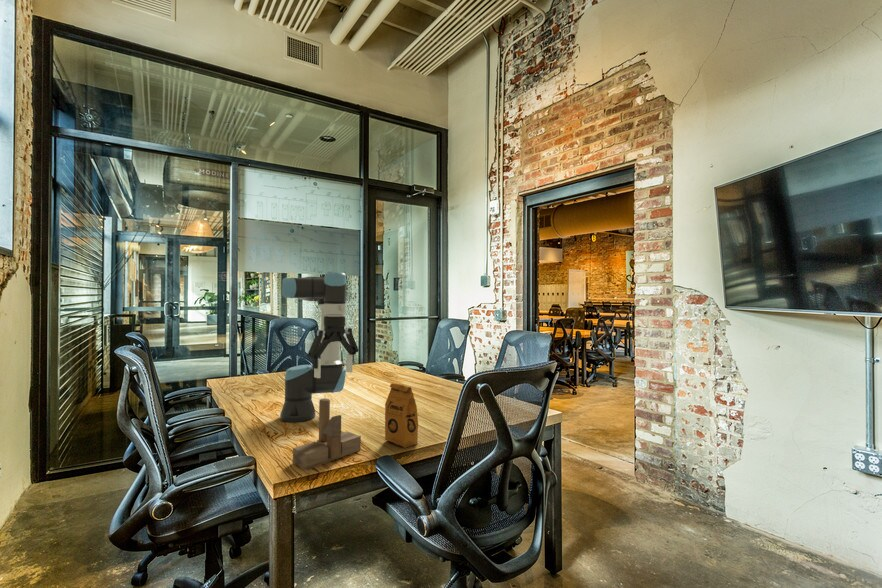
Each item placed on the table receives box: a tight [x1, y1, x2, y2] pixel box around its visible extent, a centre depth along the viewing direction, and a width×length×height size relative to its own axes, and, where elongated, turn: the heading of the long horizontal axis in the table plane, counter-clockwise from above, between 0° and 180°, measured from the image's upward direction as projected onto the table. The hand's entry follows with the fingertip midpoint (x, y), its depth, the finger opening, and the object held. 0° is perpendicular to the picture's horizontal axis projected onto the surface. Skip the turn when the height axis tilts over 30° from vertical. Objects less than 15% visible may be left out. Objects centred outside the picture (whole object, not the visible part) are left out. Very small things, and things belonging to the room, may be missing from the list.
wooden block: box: [316, 397, 342, 459], centre depth 139 cm, size 4×11×18 cm, turn 44°
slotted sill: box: [292, 431, 362, 471], centre depth 139 cm, size 8×22×5 cm, turn 141°
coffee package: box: [384, 382, 419, 449], centre depth 153 cm, size 10×12×22 cm
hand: (333, 374), depth 144 cm, fingers open, 13 cm apart
